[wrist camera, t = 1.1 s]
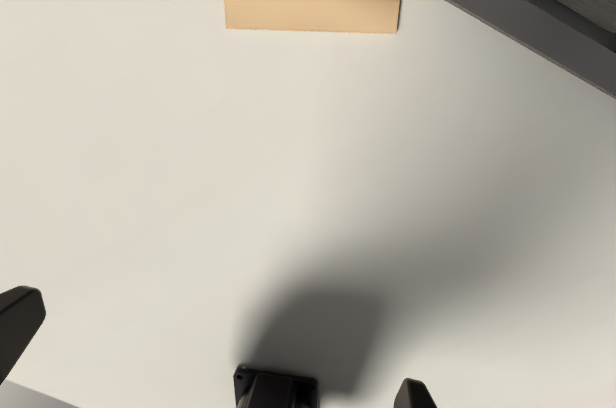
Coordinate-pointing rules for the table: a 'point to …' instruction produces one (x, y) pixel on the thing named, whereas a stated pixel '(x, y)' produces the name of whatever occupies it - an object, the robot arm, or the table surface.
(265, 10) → the cork pad
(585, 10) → the gray block
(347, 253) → the table surface
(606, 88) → the dark gray slotted board
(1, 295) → the robot arm
